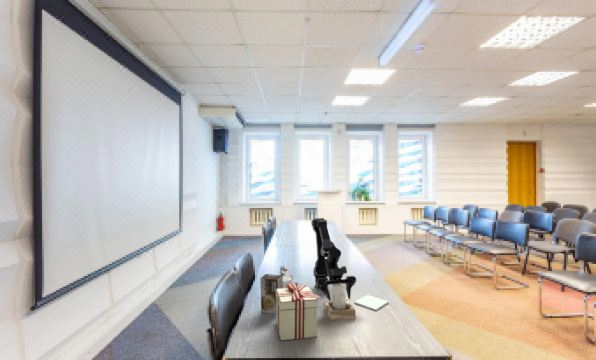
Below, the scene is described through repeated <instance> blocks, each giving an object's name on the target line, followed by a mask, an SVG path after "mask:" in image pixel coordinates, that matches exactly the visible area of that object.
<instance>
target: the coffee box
mask: <svg viewBox="0 0 596 360" xmlns="http://www.w3.org/2000/svg"><path fill="white" fill-rule="evenodd" d="M259 280H260V281H259V282H260V312H261V313H267V314H268V313H269V314H276V299H277V298H276V289H282V288H283V285H282V275H281V274H269V273H265V274H263V276H261V277H260V278H259Z"/></svg>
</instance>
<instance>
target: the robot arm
mask: <svg viewBox="0 0 596 360" xmlns="http://www.w3.org/2000/svg"><path fill="white" fill-rule="evenodd" d="M310 222H311V227H312V230H313V232H314V234H315V242H316V243H315V244H316V257H317V258H316V261H315V263H314V267H313V271H312V272H313V277H314V279H315V280H314V281H315V282H314V283H315V285H314V286H313V287H314V288H315V289H316V290H319V291H321V292H322V293H323V295H325V296H326V298H327V300H328V301H332V298H331V294H330V291H329V287H328V286H329V285H330V286H332V284H334V283H343V284H345V289H346V294H347V297H348V298H347V299H348V300H349V301H350V300H351V291H352V288H353V286H355V284H356V282H357V278H356V276H355V275H347V276H346V278H344V279H343V276H344V275H345V274H347V273H348V269H347V267H346V265H343V266H341V267H339V265H338V263H339V261H340V259H341V256H342V252H341V250H340V249H339V248H337V247H336V245H335V244H334V242H333V241H332V240H331V237H330V234H329V229H328V219H325V218H324V217H317V218H316V217H313V218H312V220H311V221H310Z"/></svg>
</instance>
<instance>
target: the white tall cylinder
mask: <svg viewBox="0 0 596 360" xmlns="http://www.w3.org/2000/svg"><path fill="white" fill-rule="evenodd" d="M331 286H332V287H331V288H332V292H331V294H332V298H331V299H332V301H333V311H335V310H346V300H347V298H346V297H347V296H346V294H347V291H346V285H345V284H343V283H334V284H332V285H331Z"/></svg>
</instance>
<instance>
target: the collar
mask: <svg viewBox="0 0 596 360" xmlns="http://www.w3.org/2000/svg"><path fill="white" fill-rule="evenodd" d="M348 300H349V299H346V310H335V311H333V300H331V301H329V300H328V301H323V309H324V311H325V313H326V315H327V317H328V318H329V321H337V320H339V321H340V320H349V319H356V317H357V316H356V309H355V308H354V307H353V305H352V304H351V303H350V302H349V301H348Z"/></svg>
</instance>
